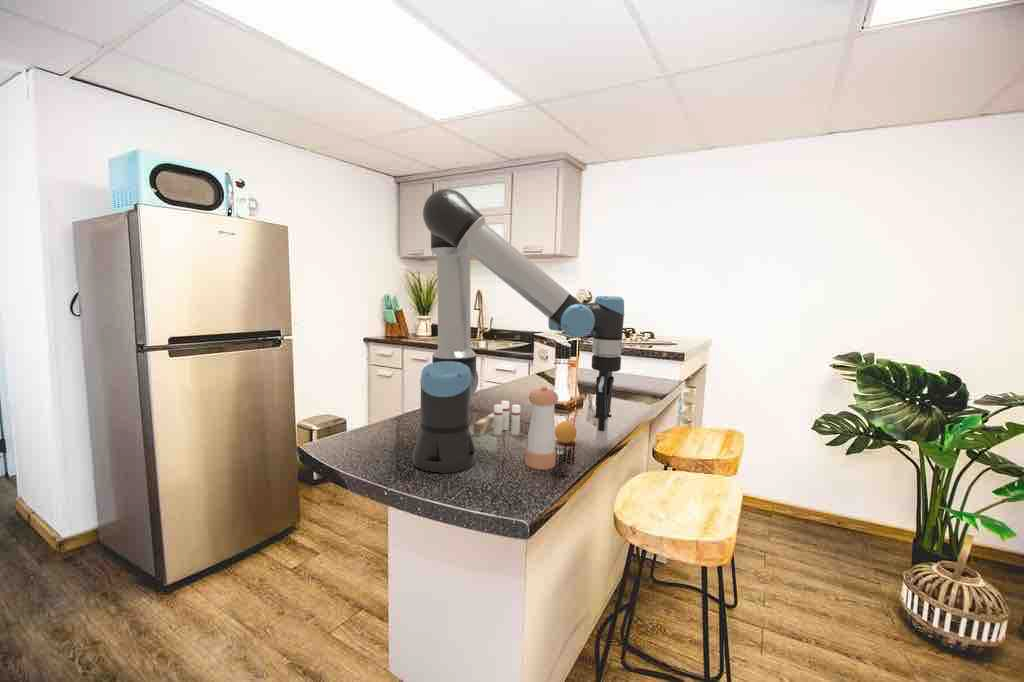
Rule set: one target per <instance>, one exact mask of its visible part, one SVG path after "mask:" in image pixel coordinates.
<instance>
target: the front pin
mask: <svg viewBox="0 0 1024 682" xmlns="http://www.w3.org/2000/svg"><path fill="white" fill-rule="evenodd" d="M510 424H511V426H510V427H511V429H510V434H512V435H511V436H519V435H520V428H521V427H520V426H521V425H520V424H521V405H520V404H512V406H511V422H510Z"/></svg>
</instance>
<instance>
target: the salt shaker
mask: <svg viewBox="0 0 1024 682" xmlns="http://www.w3.org/2000/svg"><path fill="white" fill-rule="evenodd" d="M528 400H529V402H530V403H531V413H530V414H531V415H530V422H529V428H528V434H527V447H526V449H525V465H526V467H529V468H531V469H535V470H541V471H542V470H550V469H553V468H555V466H556V458H557V450H556V449H555V448H556V447H555V446H556V436H555V428H556V426H555V405H556V404H557V403H558V401H559V396H558V393H557V392H556V391H554V390H552V389H549V388H548V387H547V386H544V385H543V386H541V387H540V388H537V389H534V390H531V392H530V393H529V394H528Z"/></svg>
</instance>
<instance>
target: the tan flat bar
mask: <svg viewBox="0 0 1024 682" xmlns="http://www.w3.org/2000/svg"><path fill="white" fill-rule="evenodd" d="M493 428H494V411H493V412H492V413H490V414H488V415H486V416H484V417H482V418H481V419H479V420H477V421H476V422H474V423H473V434H472V435H473V436H475V437H479V438H480V437H481V436H483V435H485V433H487V432H489V431H491V430H492V429H493Z"/></svg>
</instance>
